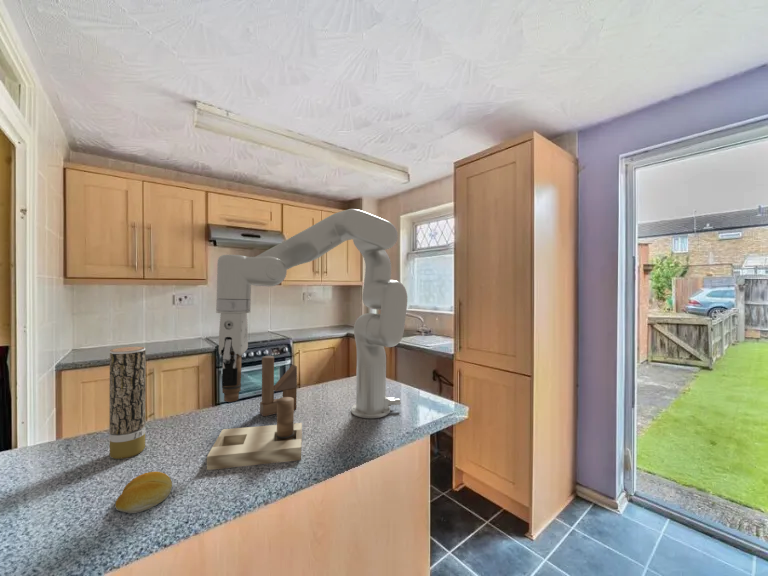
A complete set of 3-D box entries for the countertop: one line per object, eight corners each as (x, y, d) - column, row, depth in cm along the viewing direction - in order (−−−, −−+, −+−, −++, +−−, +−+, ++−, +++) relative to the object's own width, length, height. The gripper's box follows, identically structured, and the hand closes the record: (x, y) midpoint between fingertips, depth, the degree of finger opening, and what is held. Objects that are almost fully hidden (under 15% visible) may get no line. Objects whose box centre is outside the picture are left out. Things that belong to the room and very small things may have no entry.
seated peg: (294, 442, 86) (294, 396, 86) (293, 450, 82) (293, 401, 81) (277, 444, 85) (277, 397, 85) (275, 452, 81) (275, 403, 80)
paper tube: (105, 463, 75) (106, 352, 75) (113, 449, 81) (113, 347, 81) (142, 456, 78) (142, 350, 78) (147, 444, 84) (147, 345, 84)
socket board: (301, 433, 91) (301, 422, 91) (301, 460, 77) (301, 447, 77) (222, 440, 86) (222, 429, 86) (206, 470, 73) (206, 456, 73)
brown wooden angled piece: (296, 409, 108) (297, 354, 108) (263, 417, 102) (263, 358, 102) (292, 406, 111) (293, 352, 111) (259, 413, 105) (260, 356, 105)
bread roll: (109, 520, 57) (109, 497, 57) (128, 490, 66) (128, 470, 66) (165, 509, 60) (165, 487, 60) (176, 481, 69) (176, 462, 69)
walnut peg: (242, 396, 82) (243, 347, 82) (239, 402, 78) (240, 351, 78) (224, 397, 81) (225, 348, 82) (219, 402, 77) (220, 351, 77)
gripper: (244, 308, 73) (242, 392, 73) (255, 304, 89) (253, 373, 89) (206, 308, 71) (204, 394, 71) (225, 304, 87) (223, 374, 87)
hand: (231, 381), depth 80 cm, fingers closed on walnut peg, 4 cm apart
